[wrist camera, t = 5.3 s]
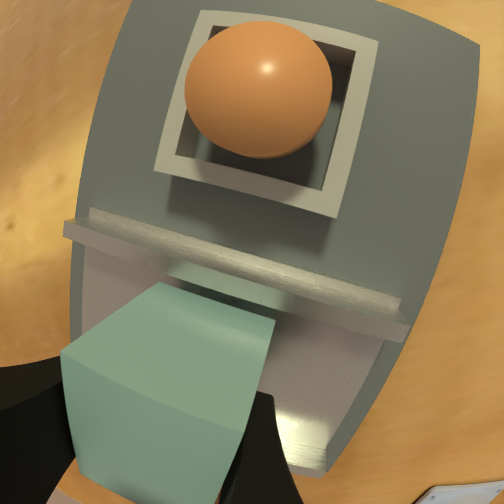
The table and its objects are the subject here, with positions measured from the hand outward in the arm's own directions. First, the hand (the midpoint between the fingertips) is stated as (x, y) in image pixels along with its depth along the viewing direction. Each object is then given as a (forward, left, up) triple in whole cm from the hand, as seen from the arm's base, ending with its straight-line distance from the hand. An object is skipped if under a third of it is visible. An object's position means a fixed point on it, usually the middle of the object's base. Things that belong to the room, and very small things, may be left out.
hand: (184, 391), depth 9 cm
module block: (0, 0, -2) cm, 2 cm away
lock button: (+9, 0, -1) cm, 9 cm away
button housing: (+9, 0, -4) cm, 10 cm away
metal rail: (0, 0, -4) cm, 4 cm away
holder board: (+4, 0, -4) cm, 6 cm away
